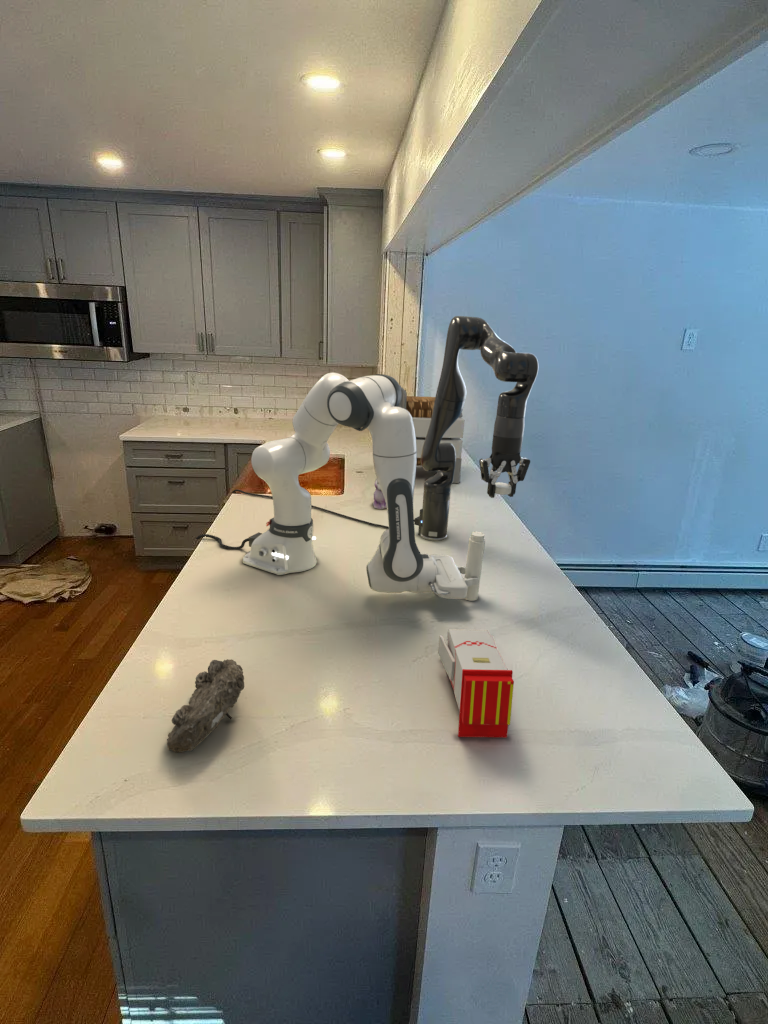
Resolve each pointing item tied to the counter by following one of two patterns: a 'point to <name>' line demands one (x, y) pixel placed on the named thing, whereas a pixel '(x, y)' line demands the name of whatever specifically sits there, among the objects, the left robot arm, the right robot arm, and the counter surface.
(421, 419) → the grey boxy piece
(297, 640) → the counter surface
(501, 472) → the right robot arm
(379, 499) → the figurine
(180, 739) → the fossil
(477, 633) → the toy
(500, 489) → the lid
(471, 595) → the slender white bottle
